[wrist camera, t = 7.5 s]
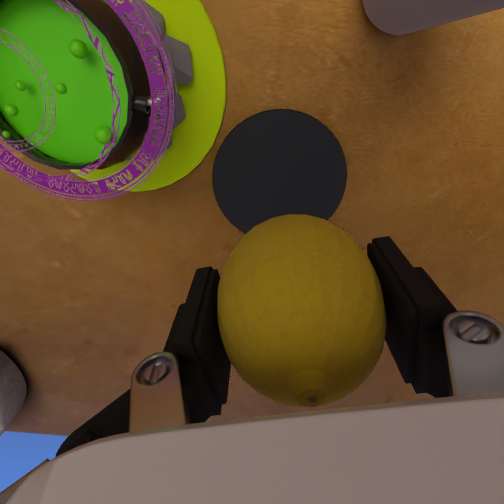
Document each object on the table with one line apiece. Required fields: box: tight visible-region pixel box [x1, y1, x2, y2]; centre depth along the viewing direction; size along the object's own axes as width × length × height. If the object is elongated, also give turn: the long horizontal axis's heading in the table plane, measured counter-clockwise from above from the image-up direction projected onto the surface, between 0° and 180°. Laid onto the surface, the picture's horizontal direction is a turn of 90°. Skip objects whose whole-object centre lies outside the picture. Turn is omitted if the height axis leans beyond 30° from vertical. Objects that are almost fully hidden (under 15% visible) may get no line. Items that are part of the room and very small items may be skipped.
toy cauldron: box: [0, 0, 227, 201], centre depth 17 cm, size 15×15×11 cm
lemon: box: [217, 214, 386, 407], centre depth 11 cm, size 6×6×8 cm
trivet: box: [213, 109, 347, 234], centre depth 24 cm, size 10×10×1 cm
